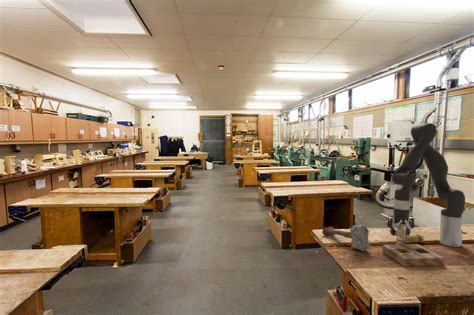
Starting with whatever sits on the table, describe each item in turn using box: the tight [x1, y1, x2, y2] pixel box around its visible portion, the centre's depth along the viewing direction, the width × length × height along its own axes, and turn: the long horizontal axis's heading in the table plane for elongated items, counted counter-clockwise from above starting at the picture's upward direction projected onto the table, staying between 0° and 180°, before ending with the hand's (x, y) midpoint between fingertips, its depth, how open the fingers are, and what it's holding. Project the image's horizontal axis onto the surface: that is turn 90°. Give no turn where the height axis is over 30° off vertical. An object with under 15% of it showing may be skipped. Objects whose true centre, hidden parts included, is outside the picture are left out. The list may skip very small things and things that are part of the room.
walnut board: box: [382, 243, 445, 268], centre depth 123 cm, size 20×16×4 cm
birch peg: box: [395, 224, 406, 245], centre depth 136 cm, size 4×4×14 cm
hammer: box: [321, 223, 371, 252], centre depth 143 cm, size 15×10×30 cm
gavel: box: [389, 229, 424, 244], centre depth 152 cm, size 21×5×10 cm
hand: (400, 235), depth 136 cm, fingers open, 8 cm apart
